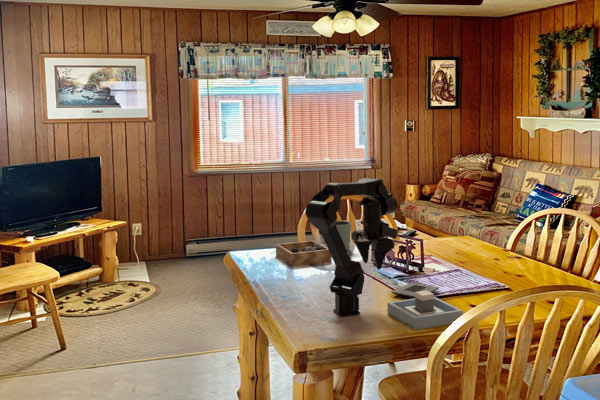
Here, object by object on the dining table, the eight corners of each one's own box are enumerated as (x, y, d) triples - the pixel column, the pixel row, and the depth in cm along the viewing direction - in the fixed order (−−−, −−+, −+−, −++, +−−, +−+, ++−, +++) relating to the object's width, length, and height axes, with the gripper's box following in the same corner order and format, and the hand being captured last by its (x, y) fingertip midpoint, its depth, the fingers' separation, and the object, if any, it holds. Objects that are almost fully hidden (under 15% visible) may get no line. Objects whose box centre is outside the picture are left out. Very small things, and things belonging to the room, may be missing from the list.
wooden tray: (291, 266, 266) (291, 253, 265) (276, 255, 284) (275, 244, 283) (331, 261, 272) (331, 249, 271) (313, 251, 290) (313, 240, 289)
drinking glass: (326, 252, 288) (326, 224, 286) (329, 247, 298) (329, 220, 296) (350, 252, 286) (350, 224, 285) (352, 247, 296) (352, 220, 294)
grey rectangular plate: (411, 288, 235) (411, 281, 234) (438, 293, 228) (439, 286, 228) (391, 297, 225) (391, 290, 224) (419, 303, 218) (419, 295, 218)
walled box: (414, 329, 192) (414, 318, 192) (387, 313, 207) (387, 302, 206) (462, 322, 198) (462, 310, 197) (432, 306, 213) (432, 295, 212)
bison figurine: (325, 259, 277) (306, 255, 283) (326, 242, 276) (306, 238, 282) (307, 266, 268) (288, 261, 274) (307, 248, 267) (288, 244, 273)
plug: (421, 318, 200) (422, 295, 199) (415, 314, 203) (415, 292, 202) (433, 316, 201) (433, 294, 200) (426, 312, 205) (426, 290, 204)
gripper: (409, 220, 208) (409, 270, 211) (381, 211, 225) (381, 257, 228) (377, 223, 204) (377, 274, 207) (350, 214, 222) (351, 260, 224)
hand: (372, 266), depth 216 cm, fingers open, 9 cm apart
